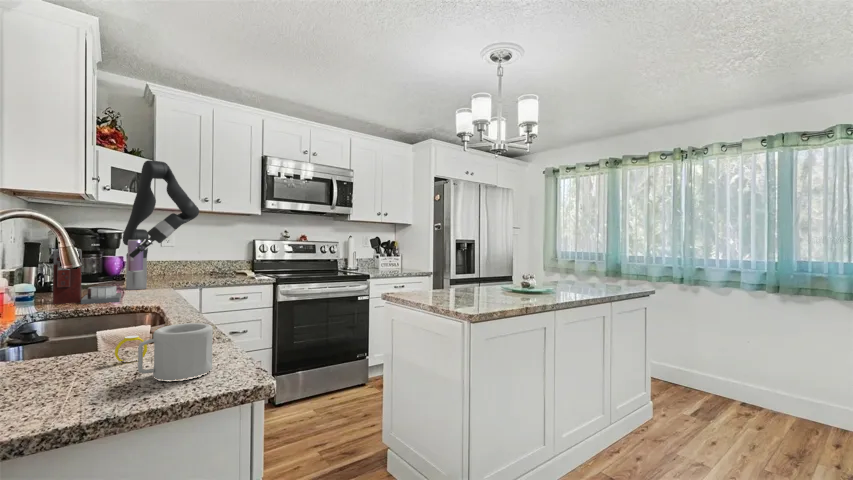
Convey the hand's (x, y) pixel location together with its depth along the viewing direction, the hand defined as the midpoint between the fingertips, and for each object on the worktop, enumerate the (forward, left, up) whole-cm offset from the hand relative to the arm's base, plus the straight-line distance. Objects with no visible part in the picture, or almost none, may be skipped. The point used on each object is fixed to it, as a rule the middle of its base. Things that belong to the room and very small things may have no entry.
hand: (131, 256), depth 186 cm
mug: (+134, +11, -20) cm, 136 cm away
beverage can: (0, +2, -7) cm, 8 cm away
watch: (+117, +3, -20) cm, 119 cm away
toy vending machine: (+1, -22, -20) cm, 30 cm away
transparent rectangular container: (+1, -10, -20) cm, 22 cm away
